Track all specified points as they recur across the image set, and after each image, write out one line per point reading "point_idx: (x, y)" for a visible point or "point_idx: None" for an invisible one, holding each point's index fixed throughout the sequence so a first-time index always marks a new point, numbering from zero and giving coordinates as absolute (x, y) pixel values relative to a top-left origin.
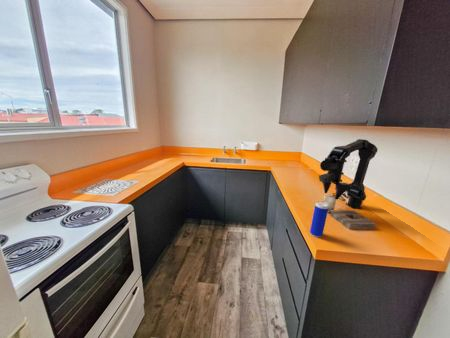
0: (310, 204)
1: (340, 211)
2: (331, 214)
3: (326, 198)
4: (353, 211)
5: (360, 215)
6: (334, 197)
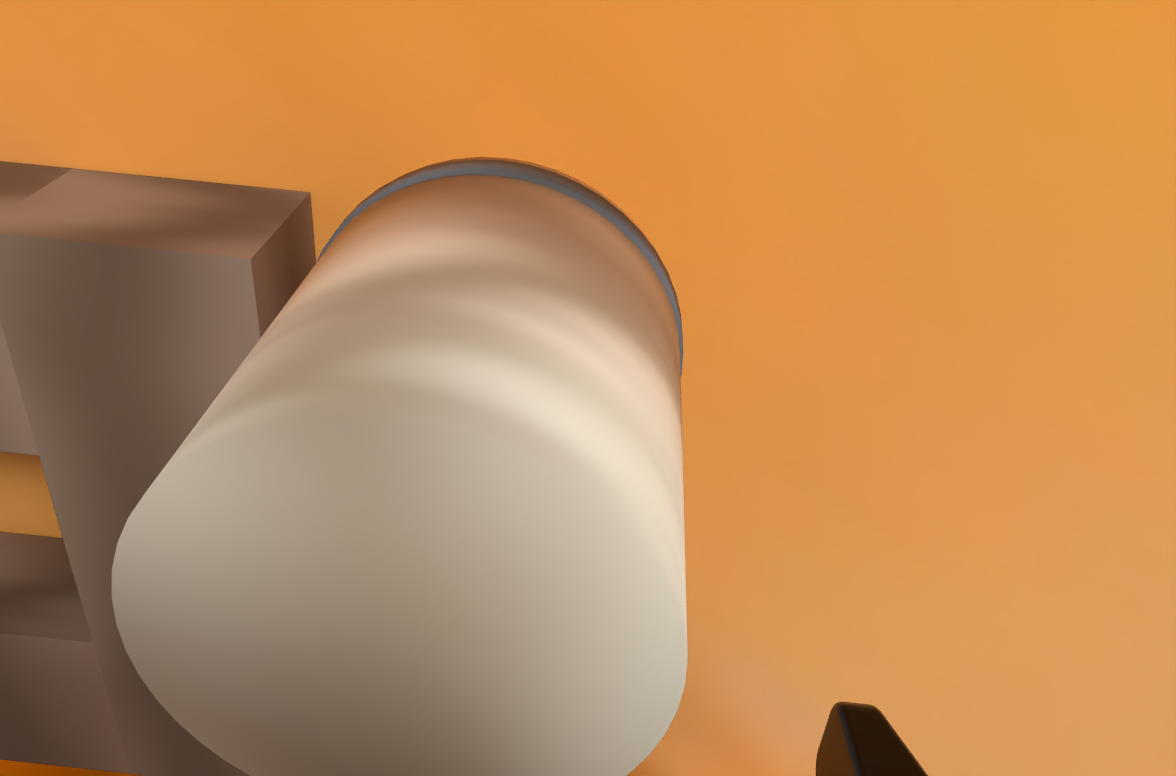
0: (1137, 76)
1: None
2: (246, 206)
3: (333, 364)
4: None
5: (75, 744)
6: (282, 727)
